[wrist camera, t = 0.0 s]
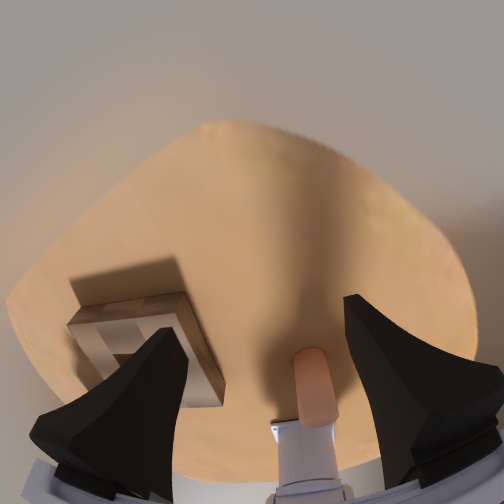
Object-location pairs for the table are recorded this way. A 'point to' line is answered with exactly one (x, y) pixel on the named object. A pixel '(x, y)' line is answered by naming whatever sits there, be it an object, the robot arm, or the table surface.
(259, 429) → the table surface
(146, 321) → the socket
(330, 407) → the peg
